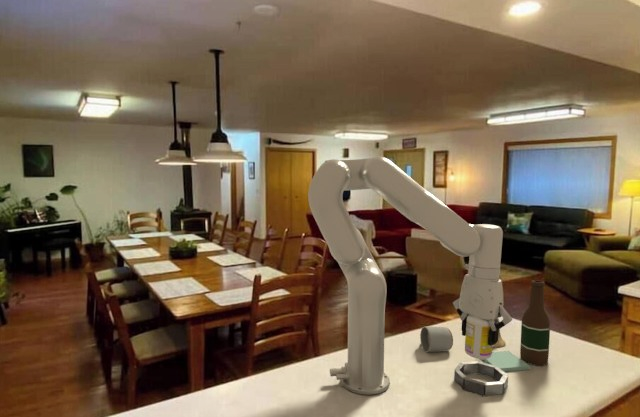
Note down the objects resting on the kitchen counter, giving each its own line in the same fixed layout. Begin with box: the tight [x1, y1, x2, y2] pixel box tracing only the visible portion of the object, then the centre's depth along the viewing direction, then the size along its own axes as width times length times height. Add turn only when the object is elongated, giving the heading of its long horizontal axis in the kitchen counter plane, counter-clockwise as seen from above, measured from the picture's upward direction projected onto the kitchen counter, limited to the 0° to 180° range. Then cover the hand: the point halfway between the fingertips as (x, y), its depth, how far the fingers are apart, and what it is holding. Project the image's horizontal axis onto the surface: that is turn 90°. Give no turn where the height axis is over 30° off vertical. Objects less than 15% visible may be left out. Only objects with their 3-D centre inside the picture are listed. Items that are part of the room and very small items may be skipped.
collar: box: [453, 360, 509, 398], centre depth 109 cm, size 12×12×3 cm
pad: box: [481, 350, 531, 372], centre depth 121 cm, size 10×10×1 cm
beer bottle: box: [519, 279, 551, 367], centre depth 121 cm, size 8×8×24 cm
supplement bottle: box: [464, 314, 493, 360], centre depth 107 cm, size 7×7×13 cm
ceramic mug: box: [419, 325, 454, 353], centre depth 130 cm, size 11×8×8 cm
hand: (478, 338), depth 108 cm, fingers closed on supplement bottle, 6 cm apart
